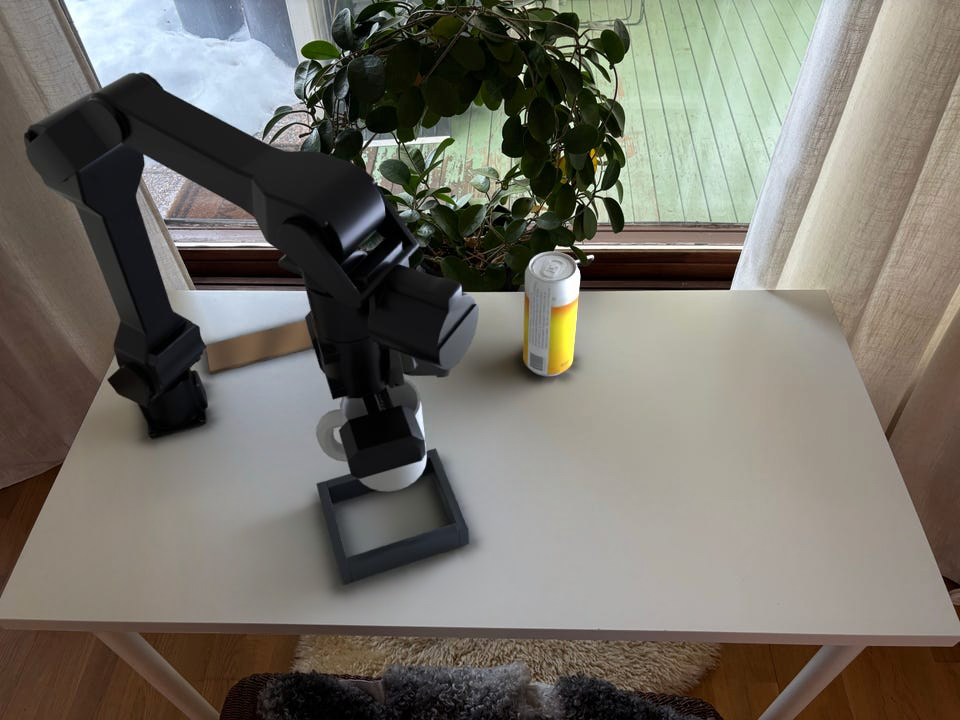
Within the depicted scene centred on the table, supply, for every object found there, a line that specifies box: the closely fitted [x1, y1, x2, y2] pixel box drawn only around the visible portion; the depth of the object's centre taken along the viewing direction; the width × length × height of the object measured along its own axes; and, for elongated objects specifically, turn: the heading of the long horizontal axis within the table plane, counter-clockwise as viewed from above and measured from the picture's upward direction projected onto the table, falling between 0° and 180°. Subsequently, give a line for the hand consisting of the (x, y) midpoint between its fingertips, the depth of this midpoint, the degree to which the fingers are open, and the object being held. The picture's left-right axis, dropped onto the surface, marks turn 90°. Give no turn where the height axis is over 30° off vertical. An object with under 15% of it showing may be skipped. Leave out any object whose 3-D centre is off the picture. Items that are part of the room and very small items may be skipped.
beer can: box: [522, 251, 581, 377], centre depth 92 cm, size 6×6×15 cm
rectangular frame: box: [316, 448, 470, 586], centre depth 80 cm, size 13×11×3 cm
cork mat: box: [205, 319, 313, 375], centre depth 100 cm, size 15×5×1 cm, turn 110°
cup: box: [315, 377, 427, 493], centre depth 73 cm, size 7×10×9 cm
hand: (372, 441), depth 74 cm, fingers closed on cup, 7 cm apart
